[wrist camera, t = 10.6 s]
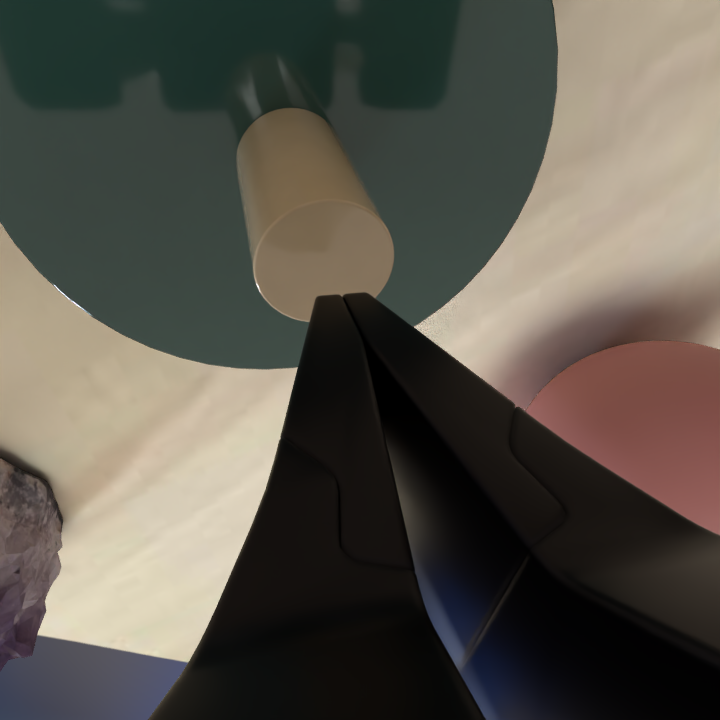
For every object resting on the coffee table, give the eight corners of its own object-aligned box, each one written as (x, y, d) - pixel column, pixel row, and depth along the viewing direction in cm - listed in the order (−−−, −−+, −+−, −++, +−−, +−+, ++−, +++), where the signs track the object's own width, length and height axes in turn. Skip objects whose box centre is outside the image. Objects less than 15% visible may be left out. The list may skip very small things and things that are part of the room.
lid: (621, -204, 11) (883, -233, 7) (472, 327, 20) (545, 449, 16) (-201, -328, 8) (-619, -515, 4) (70, 365, 17) (35, 527, 13)
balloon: (788, 330, 35) (1054, 543, 25) (527, 484, 41) (649, 711, 31) (758, 165, 25) (1184, 402, 15) (420, 399, 31) (546, 691, 21)
